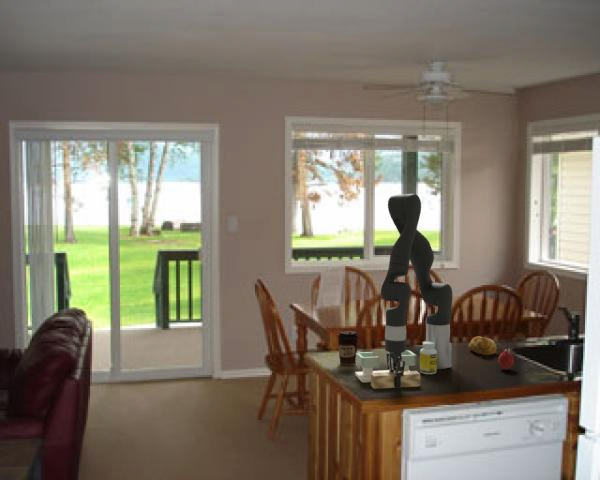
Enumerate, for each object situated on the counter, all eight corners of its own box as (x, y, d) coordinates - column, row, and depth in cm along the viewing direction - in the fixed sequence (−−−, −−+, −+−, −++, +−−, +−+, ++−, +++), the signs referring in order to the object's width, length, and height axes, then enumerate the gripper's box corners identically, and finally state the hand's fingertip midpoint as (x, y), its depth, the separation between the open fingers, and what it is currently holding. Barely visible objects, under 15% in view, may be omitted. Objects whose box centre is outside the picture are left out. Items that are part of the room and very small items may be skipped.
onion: (514, 368, 254) (514, 348, 253) (512, 372, 249) (513, 351, 248) (499, 367, 256) (499, 347, 256) (497, 370, 251) (497, 350, 250)
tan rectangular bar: (416, 383, 235) (416, 370, 235) (420, 386, 231) (420, 373, 231) (370, 385, 232) (370, 373, 232) (373, 388, 228) (374, 376, 228)
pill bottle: (426, 375, 244) (427, 345, 244) (416, 371, 250) (416, 341, 249) (440, 373, 247) (440, 343, 247) (429, 369, 253) (430, 340, 252)
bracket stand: (407, 372, 249) (408, 349, 249) (417, 379, 240) (417, 355, 239) (354, 375, 246) (355, 352, 245) (362, 382, 236) (362, 358, 235)
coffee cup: (357, 367, 256) (357, 334, 256) (336, 366, 258) (336, 334, 257) (359, 361, 265) (359, 330, 264) (339, 360, 267) (339, 329, 266)
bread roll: (463, 350, 284) (463, 332, 283) (481, 348, 288) (481, 330, 287) (482, 357, 272) (482, 338, 272) (500, 355, 276) (501, 336, 275)
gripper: (412, 341, 224) (412, 390, 225) (399, 333, 238) (398, 379, 239) (391, 342, 223) (391, 391, 224) (379, 333, 237) (379, 380, 238)
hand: (395, 384), depth 232 cm, fingers closed on tan rectangular bar, 4 cm apart
